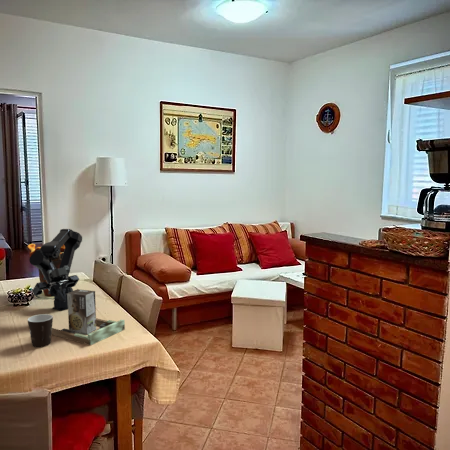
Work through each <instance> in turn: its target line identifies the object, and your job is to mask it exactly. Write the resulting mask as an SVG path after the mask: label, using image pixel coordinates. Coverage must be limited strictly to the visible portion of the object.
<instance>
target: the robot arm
mask: <svg viewBox="0 0 450 450" xmlns="http://www.w3.org/2000/svg"><path fill="white" fill-rule="evenodd" d="M82 242H83V235H82V234H80V233H79V232H77V231H75V230H72V229H71V228H62V229H60V230H59V232H58V233H57V235H55V237H54V238H53V239H52V240H51V241H49V242H46V243H44V244H42V245H41V246H40V247H41V248H40V249H39V250H36V253H34V254H32V255H31V257H30V256H29V263H30V264H31V265H32V266H34V267H35V268H36V269H37V270H38V269H41V271H42V273H43V275H44V277H43V279H44V280H46V281H47V283H48V284H47V283H46V282H45V281H44V282H40V281H38V282H36V283H35V285H34V287H33V289H32V294H33V296H36V295H40V294H42V292H43V290H45V289H48V290H49V292H48V294H51V297H52V296H54V300H53V307H52V310H56V311H64V310H65V311H66V310H68V299H67V293H70V292H72V291H74V289H73V287H76V285H77V283H78V282H79V281H80V278H79V276H78V275H77V274H74V275H70V272H71V267H72V264H73V259H74V256H75V252H76V251H77V250H78V249H79V248H80V246H81V243H82ZM63 244H64V246H65V250H64V253H63V257H62V260H61V264H60V268H58V269H56V267H55V265H54V263H53V262H52V260H51V259H49V258H57V257H58V256H59V254H60V248H61V247H62V246H63Z"/></svg>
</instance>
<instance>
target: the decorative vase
mask: <svg viewBox="0 0 450 450" xmlns="http://www.w3.org/2000/svg"><path fill="white" fill-rule="evenodd" d="M40 248H41V246H37V247H36V244H35V243H30V244H28V245H27V249H28V250H29V251H28V252H29V258H30V257H31V255H32V254H34V253H36V250H39V249H40ZM64 250H65V246H64V244H63V246H62V247H61V248H60V254H59V256H58V257H57V258H49V259H51V260H52V262H53V263H54V265H55V267H56V269H58V268H60V264H61V260H62V257H63V253H64ZM37 270H38V277H39V282H44V281H45V282H46V283H47V281H46V280H44V279H43V277H44V275H43V273H42V271H41V269H38V268H37ZM47 284H48V283H47ZM42 291H43V292H42V294H40V295H36V296H35V295H33V296H34V298H35V299H37V300H53V299H54V296H52V297H51V294H48V292H49V290H48V289H45V290H42Z"/></svg>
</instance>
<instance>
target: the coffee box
mask: <svg viewBox="0 0 450 450" xmlns="http://www.w3.org/2000/svg"><path fill="white" fill-rule="evenodd" d="M67 299H68V309H67V313H68V314H67V315H68V329H69V330H72V331H75V334H76V333H79V334H82V335H88V334H89V333H92V332H94V331H96V330H97V324H96V318H97V311H96V310H97V309H96V291H95V290H87V289H78V288H77V289H73V291H72V292H70V293H67Z"/></svg>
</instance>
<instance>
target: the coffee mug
mask: <svg viewBox="0 0 450 450" xmlns="http://www.w3.org/2000/svg"><path fill="white" fill-rule="evenodd" d="M26 321H27V324H28V325H27V326H28V331H29V336H30V340H31V346H32V347H33V348H44V347H47V346H49V345H51V343H52V335H51V334H52V328H53V322H54V316H53V315H52V314H48V313H45V314H44V313H43V314H41V313H40V314H35V315H32V316H29V317H28V318H27V320H26Z"/></svg>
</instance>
